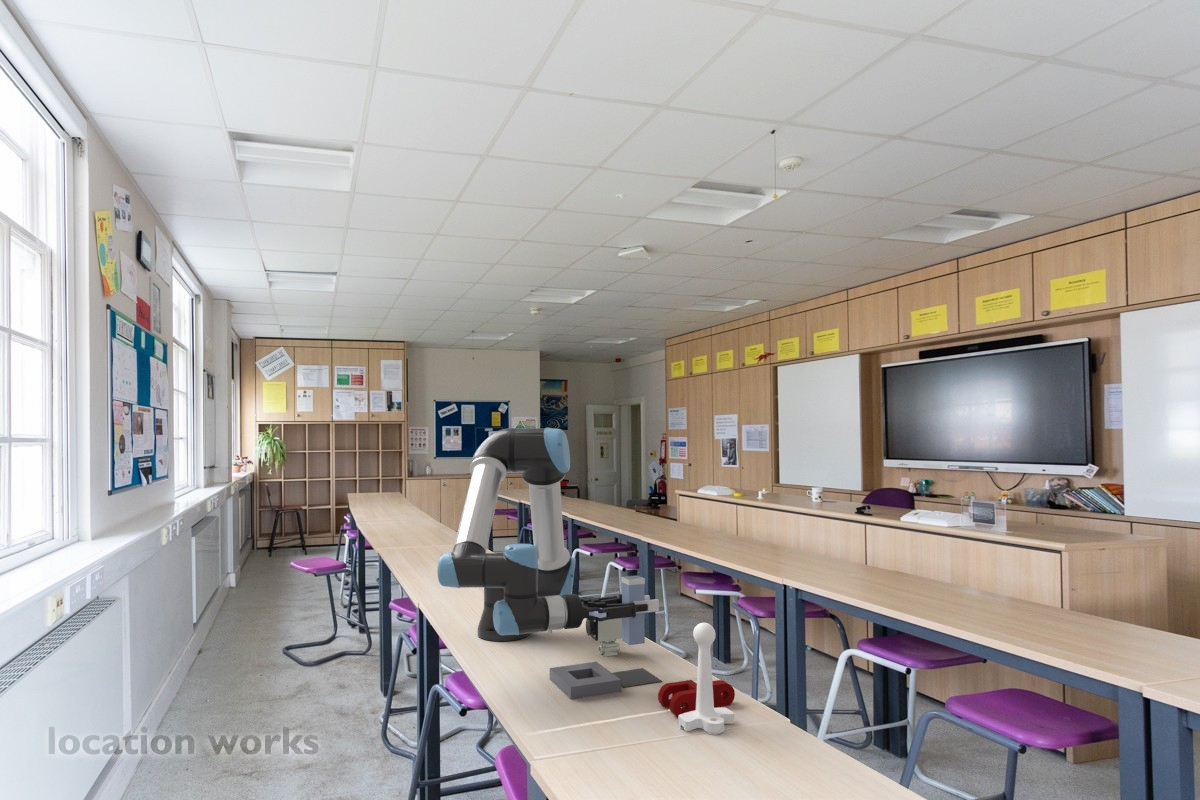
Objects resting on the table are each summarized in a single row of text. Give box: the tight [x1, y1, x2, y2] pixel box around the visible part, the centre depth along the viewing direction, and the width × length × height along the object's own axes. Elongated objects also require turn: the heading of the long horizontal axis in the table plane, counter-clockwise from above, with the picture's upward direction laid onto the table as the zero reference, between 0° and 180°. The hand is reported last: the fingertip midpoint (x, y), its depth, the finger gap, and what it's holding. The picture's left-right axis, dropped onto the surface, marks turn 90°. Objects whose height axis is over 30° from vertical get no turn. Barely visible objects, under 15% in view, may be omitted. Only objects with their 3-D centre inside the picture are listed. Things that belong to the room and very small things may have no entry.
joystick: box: [677, 622, 735, 735], centre depth 141 cm, size 11×8×20 cm
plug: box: [620, 575, 646, 646], centre depth 169 cm, size 4×4×15 cm
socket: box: [549, 661, 622, 700], centre depth 164 cm, size 14×12×3 cm
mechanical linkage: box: [657, 679, 736, 718], centre depth 151 cm, size 16×7×5 cm, turn 112°
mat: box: [612, 667, 663, 689], centre depth 169 cm, size 10×10×1 cm
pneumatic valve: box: [585, 618, 622, 657], centre depth 188 cm, size 6×12×12 cm, turn 107°
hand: (653, 603), depth 172 cm, fingers closed on plug, 4 cm apart
